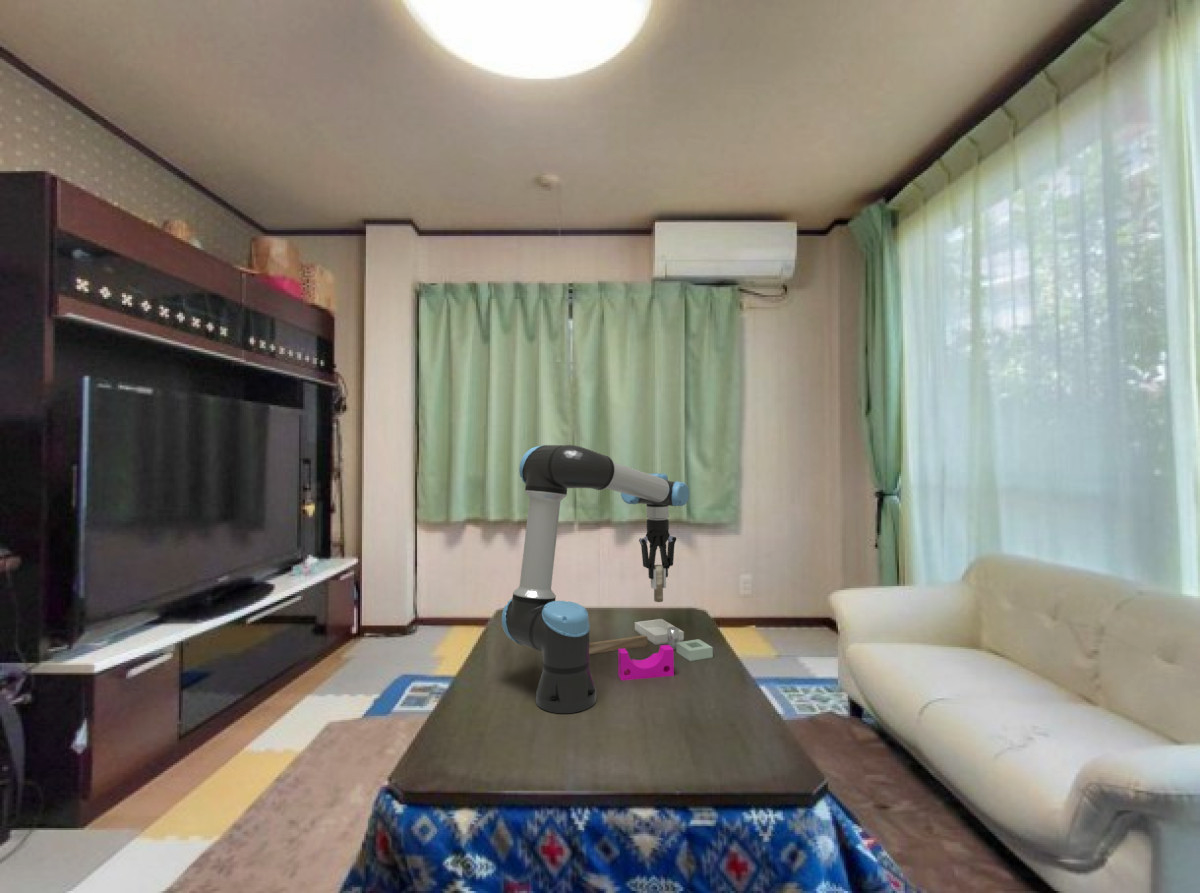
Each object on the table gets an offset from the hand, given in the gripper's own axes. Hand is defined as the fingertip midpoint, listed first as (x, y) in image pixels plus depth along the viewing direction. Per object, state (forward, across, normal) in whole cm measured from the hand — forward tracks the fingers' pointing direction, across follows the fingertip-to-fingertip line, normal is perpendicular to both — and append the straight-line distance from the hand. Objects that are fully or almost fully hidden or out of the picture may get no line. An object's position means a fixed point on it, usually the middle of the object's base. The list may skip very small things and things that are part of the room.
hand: (658, 587), depth 186 cm
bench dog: (+16, +1, +12) cm, 20 cm away
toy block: (+17, +19, +28) cm, 37 cm away
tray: (+16, 0, 0) cm, 16 cm away
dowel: (+5, 0, 0) cm, 5 cm away
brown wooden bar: (+16, +19, +7) cm, 26 cm away
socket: (+16, -2, +20) cm, 26 cm away
